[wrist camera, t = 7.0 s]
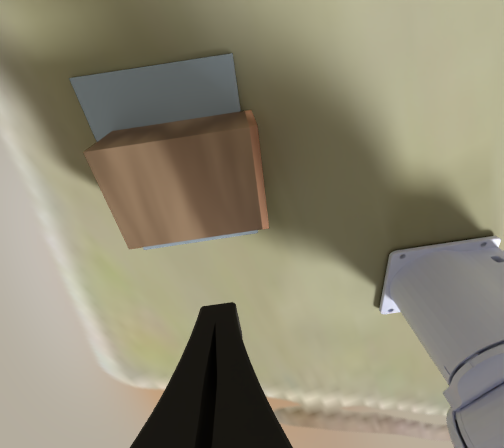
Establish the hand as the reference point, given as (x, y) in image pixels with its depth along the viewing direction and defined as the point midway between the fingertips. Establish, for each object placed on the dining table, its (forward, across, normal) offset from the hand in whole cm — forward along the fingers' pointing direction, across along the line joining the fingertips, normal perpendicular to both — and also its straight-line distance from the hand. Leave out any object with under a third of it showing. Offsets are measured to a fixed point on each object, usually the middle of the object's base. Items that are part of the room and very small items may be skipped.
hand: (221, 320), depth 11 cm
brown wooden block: (+8, -3, -3) cm, 9 cm away
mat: (+10, +2, -3) cm, 11 cm away
